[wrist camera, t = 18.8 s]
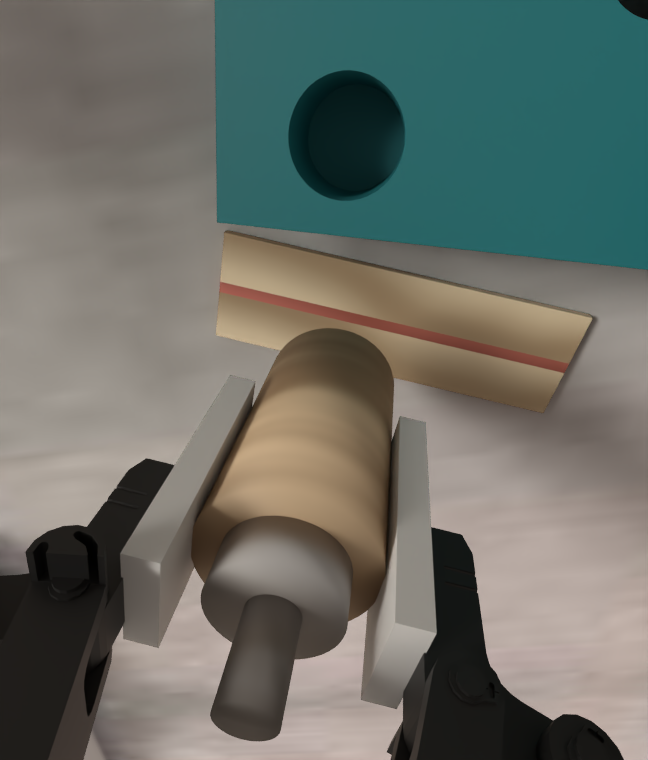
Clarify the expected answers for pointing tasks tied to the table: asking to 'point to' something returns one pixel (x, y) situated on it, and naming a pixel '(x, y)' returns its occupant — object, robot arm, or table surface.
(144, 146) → the table surface
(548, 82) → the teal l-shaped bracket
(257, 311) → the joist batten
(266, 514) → the awl
